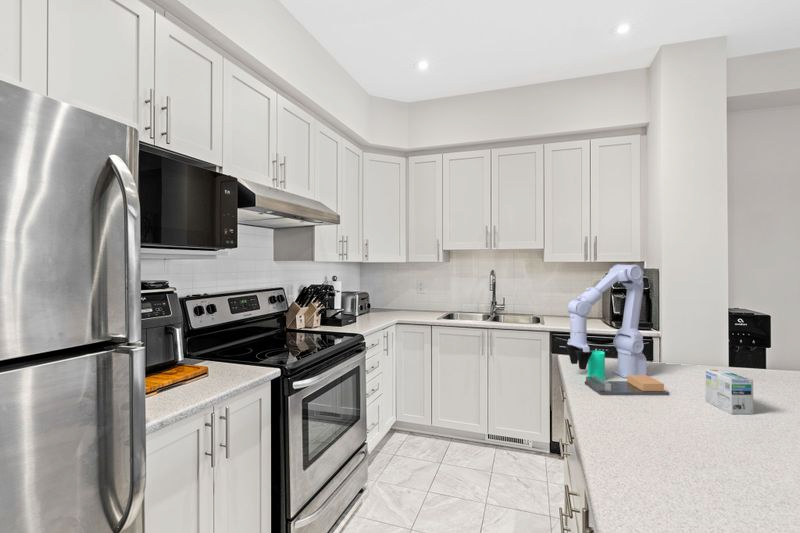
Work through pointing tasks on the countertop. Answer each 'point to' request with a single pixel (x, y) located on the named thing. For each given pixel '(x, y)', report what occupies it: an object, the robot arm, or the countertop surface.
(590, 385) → the dark grey flat block
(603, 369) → the candle
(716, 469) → the countertop surface
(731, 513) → the countertop surface
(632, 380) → the tan flat block
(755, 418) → the countertop surface
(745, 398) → the light bulb box
